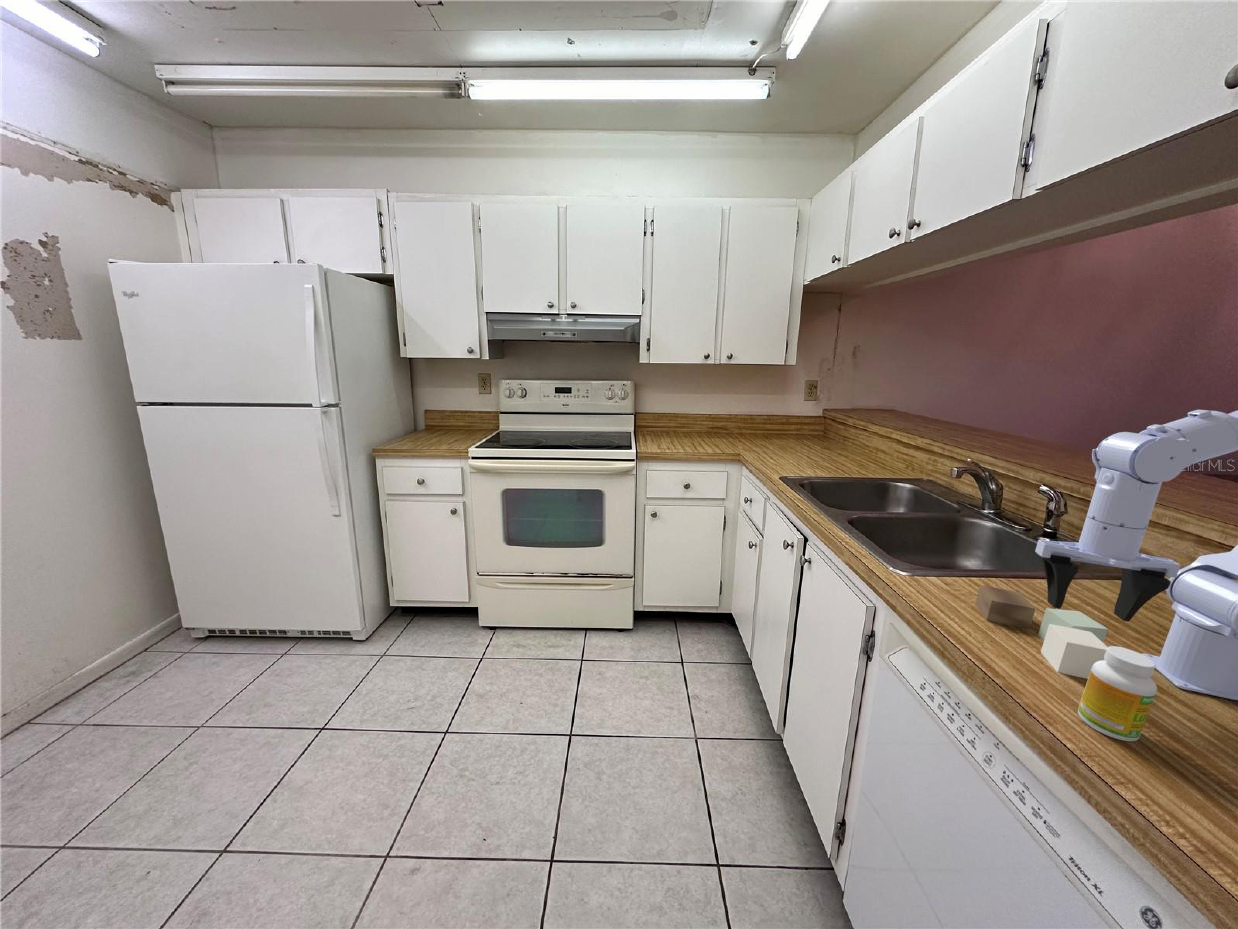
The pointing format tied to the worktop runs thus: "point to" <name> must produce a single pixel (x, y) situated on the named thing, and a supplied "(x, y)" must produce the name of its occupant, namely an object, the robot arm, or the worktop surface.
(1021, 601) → the walnut block
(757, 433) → the worktop surface
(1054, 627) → the cream cube
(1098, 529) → the robot arm
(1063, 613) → the sage cube
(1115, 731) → the supplement bottle
